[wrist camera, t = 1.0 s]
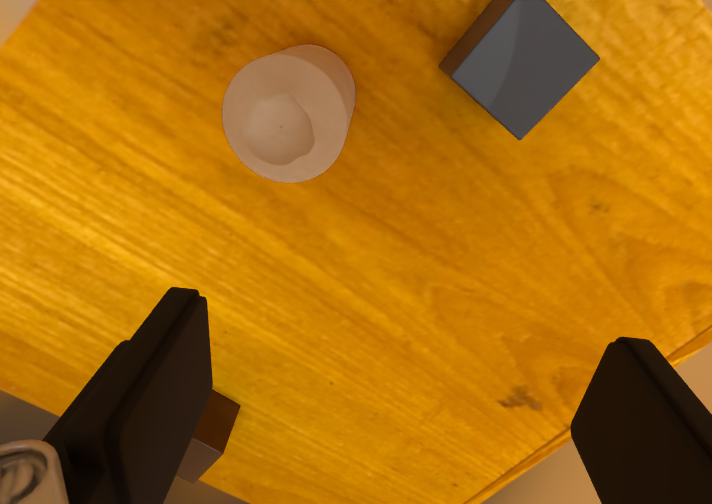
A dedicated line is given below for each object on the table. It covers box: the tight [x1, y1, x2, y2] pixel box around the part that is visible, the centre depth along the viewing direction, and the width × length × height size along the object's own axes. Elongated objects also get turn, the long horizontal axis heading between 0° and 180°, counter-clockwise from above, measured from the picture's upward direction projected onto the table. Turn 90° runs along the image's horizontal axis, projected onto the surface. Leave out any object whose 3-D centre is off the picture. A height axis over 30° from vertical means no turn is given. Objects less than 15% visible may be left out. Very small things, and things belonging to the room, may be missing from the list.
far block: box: [176, 390, 240, 483], centre depth 38 cm, size 5×5×5 cm
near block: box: [439, 0, 600, 140], centre depth 24 cm, size 5×5×5 cm
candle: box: [222, 44, 356, 183], centre depth 23 cm, size 6×6×10 cm
